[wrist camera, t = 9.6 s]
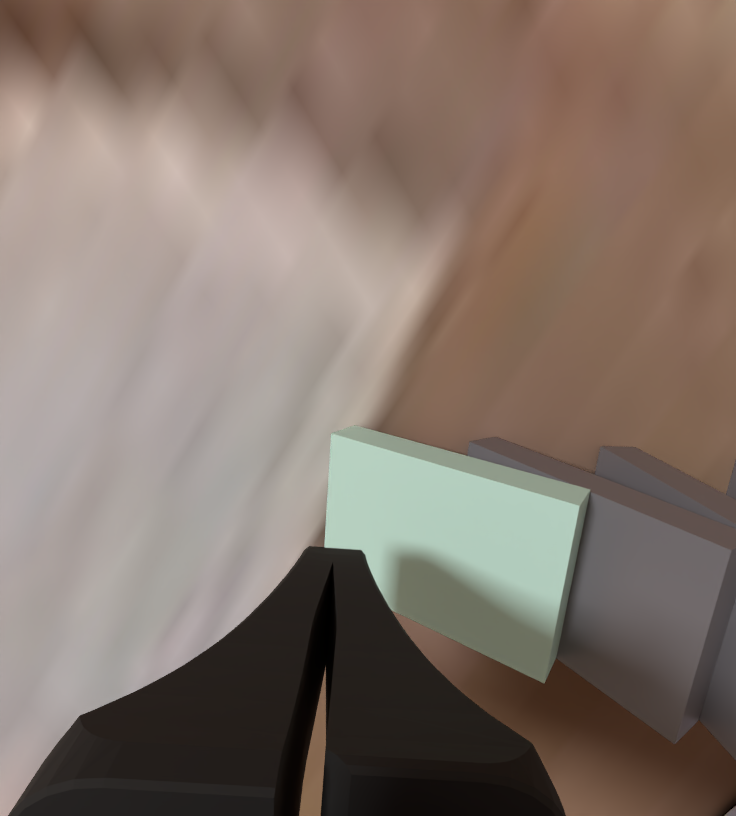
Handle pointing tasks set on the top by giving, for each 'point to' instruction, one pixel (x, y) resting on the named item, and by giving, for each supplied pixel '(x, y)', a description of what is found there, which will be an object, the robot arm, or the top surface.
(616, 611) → the domino
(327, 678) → the robot arm
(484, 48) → the top surface
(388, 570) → the green domino
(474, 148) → the top surface
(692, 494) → the domino
